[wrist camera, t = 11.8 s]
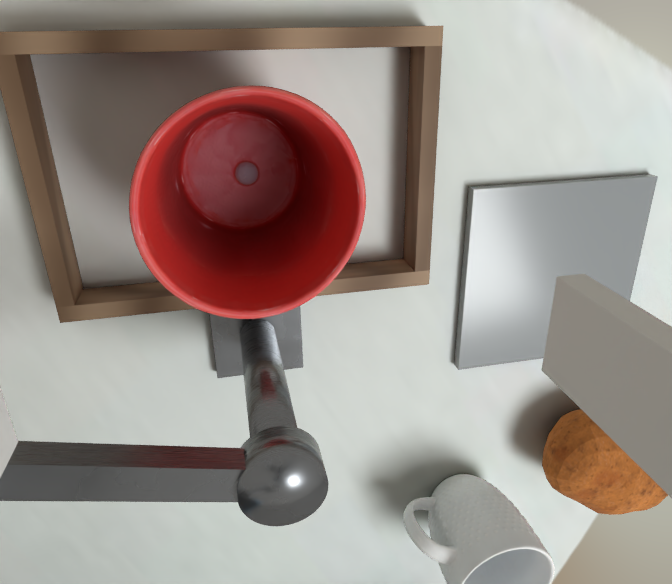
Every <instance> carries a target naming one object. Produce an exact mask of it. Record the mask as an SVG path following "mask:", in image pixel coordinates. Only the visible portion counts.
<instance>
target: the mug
mask: <svg viewBox="0 0 672 584" xmlns="http://www.w3.org/2000/svg"><path fill="white" fill-rule="evenodd" d="M416 510H429V512H428V514H429V516H428V520H429V529H430V536H431V538H430V537H428V536H427V534H426V533H425V532H424V531H423V530H422V529H421V527H420V526H419V524H418V523H417V521H416V519H415V516H414V511H416ZM403 520H404V525H405V528H406V531H407V533H408V534H409V536H410V538H411V539H412V541H413V542H414V543H415V545H416V546H417V547H418V548H419V549H420V550H421V551H422V552H423V553H425V554H426V555H427V556H429V557H430V558H431V559H433V560H435V561H437V562H438V563H439V565H440V567H441V570H442V573H443V575H444V577H445V580H446V582H447V584H551V583H552V580H553V577H554V571H555V569H554V563H553V560H552V558H551V556H550V555H549V553H548V552H547V550H546V549H545V547H544V546H543V544H542V543H541V541H540V539H539V538H538V536H537V535H536V534H535V533H534V531H533V529H532V528H531V526H530V525H529V524H528V523H527V521H526V519H525V518H524V516H522V515H521V513H520V512H519V510H518V509H517V508H516V507H515V506H514V504H513V503H512V502H511V501H510V500H508V498H507V497H506V496H505V495H504V494H502V493H501V492H500V491H499V490H498V489H497V488H496V487H494V486H493V485H492V484H490V483H488V482H487V481H486V480H483V479H481V478H479V477H476V476H474V475H469V474H458V475H454V476H451V477H449V478H447V479H445V480H444V481H442V482H441V483H440V484H439V485H438V486H437V487H436V489H435V490H434V492H433V494H432V496H431V497H423V498H418V499H415V500H413V501H411V502H410V503H409V504H408V505H407V507H406V509H405V511H404V515H403Z"/></svg>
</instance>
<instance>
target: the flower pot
mask: <svg viewBox="0 0 672 584" xmlns="http://www.w3.org/2000/svg"><path fill="white" fill-rule="evenodd" d="M365 207H366V193H365V183H364V177H363V172H362V168H361V165H360V162H359V159H358V156H357V154H356V151H355V149H354V147H353V145H352V143H351V141H350V139H349V138H348V136H347V134H346V133H345V131H344V130H343V129H342V128H341V126H340V125H339V124H338V123H337V122H336V121H335V120H334V119H333V118H332V117H331V116H330V115H329V114H328V113H327V112H326V111H324V110H323V109H322V108H321V107H319V106H318V105H316V104H315V103H313V102H311V101H310V100H308V99H306V98H304V97H302V96H299V95H297V94H294V93H291V92H288V91H285V90H282V89H277V88H273V87H266V86H236V87H230V88H225V89H220V90H217V91H214V92H211V93H208V94H205V95H203V96H200V97H198V98H196V99H194V100H192V101H190V102H189V103H187V104H185V105H184V106H182V107H181V108H179V109H178V110H177V111H175V112H174V113H173V114H171V115H170V116H169V117H168V118H167V119H166V120H165V121H164V122H163V123H162V124H161V125H160V126H159V127H158V128H157V130H156V131H155V132H154V133H153V135H152V136H151V137H150V139H149V140H148V142H147V143H146V145H145V147H144V149H143V151H142V152H141V154H140V157H139V159H138V161H137V164H136V167H135V170H134V174H133V177H132V182H131V187H130V197H129V214H130V223H131V228H132V232H133V236H134V239H135V242H136V245H137V247H138V250H139V252H140V255H141V257H142V259H143V260H144V262H145V264H146V265H147V267H148V268H149V270H150V271H151V272H152V274H153V275H154V276H155V277H156V279H157V280H158V281H159V282H160V283H161V284H162V285H163V286H164V287H165V288H166V289H167V290H168V291H170V292H171V293H172V294H173V295H175V296H176V297H178V298H179V299H180V300H182V301H183V302H185V303H187V304H188V305H190V306H192V307H194V308H196V309H199V310H201V311H204V312H207V313H210V314H213V315H217V316H221V317H227V318H235V319H256V318H264V317H269V316H274V315H278V314H281V313H284V312H287V311H289V310H292V309H294V308H296V307H298V306H300V305H302V304H304V303H305V302H307V301H309V300H310V299H312V298H313V297H315V296H316V295H318V294H319V293H320V292H321V291H323V290H324V289H325V288H326V287H327V286H328V285H329V284H330V283H331V282H332V281H333V280H334V279H335V278H336V277H337V275H338V274H339V273H340V272H341V270H342V269H343V268H344V266H345V265H346V263H347V262H348V260H349V259H350V257H351V255H352V253H353V251H354V249H355V247H356V245H357V242H358V240H359V236H360V233H361V229H362V226H363V221H364V215H365Z"/></svg>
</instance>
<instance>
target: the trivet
mask: <svg viewBox="0 0 672 584" xmlns="http://www.w3.org/2000/svg"><path fill="white" fill-rule="evenodd" d="M657 177H658V176H654V175H651V174H645V175H631V176H617V177H603V178H588V179H574V180H560V181H546V182H532V183H518V184H504V185H490V186H476V187H469V191H468V204H467V216H466V228H465V240H464V252H463V265H462V277H461V289H460V301H459V313H458V326H457V338H456V350H455V362H454V365H455V366H456V367H457V368H458V370H460V369H467V368H474V367H482V366H489V365H497V364H504V363H511V362H519V361H526V360H533V359H541V358H544V352H545V346H546V340H547V334H548V328H549V322H550V316H551V310H552V304H553V297H554V291H555V285H556V279H557V276H567V275H577V274H586V275H587V276H589V277H591V278H592V279H594V280H596V281H597V282H599V283H600V284H602V285H604V286H605V287H607V288H609V289H610V290H612V291H614V292H615V293H617V294H619V295H620V296H622V297H623V298H625V299H627V300H628V301H630V297H631V293H632V288H633V284H634V280H635V275H636V271H637V266H638V262H639V257H640V253H641V248H642V244H643V239H644V235H645V230H646V226H647V221H648V217H649V213H650V208H651V204H652V199H653V195H654V190H655V186H656V181H657Z"/></svg>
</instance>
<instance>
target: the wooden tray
mask: <svg viewBox="0 0 672 584" xmlns="http://www.w3.org/2000/svg"><path fill="white" fill-rule="evenodd" d="M442 39H443V26H396V27H321V28H246V29H172V30H97V31H22V32H0V89H1V93H2V97H3V101H4V105H5V109H6V113H7V116H8V120H9V124H10V128H11V132H12V136H13V140H14V144H15V148H16V152H17V156H18V160H19V163H20V167H21V171H22V175H23V179H24V183H25V187H26V191H27V195H28V199H29V203H30V206H31V210H32V214H33V218H34V222H35V226H36V230H37V234H38V238H39V242H40V246H41V250H42V253H43V257H44V261H45V265H46V269H47V273H48V277H49V281H50V285H51V289H52V293H53V297H54V300H55V304H56V308H57V312H58V316H59V320H60V323H62V322H72V321H82V320H91V319H101V318H110V317H120V316H129V315H139V314H149V313H158V312H168V311H177V310H187V309H196V308H194V307H192V306H190V305H188V304H187V303H185V302H183V301H182V300H180V299H179V298H178V297H176V296H175V295H173V294H172V293H171V292H170V291H168V290H167V289H166V288H165V287H164V286H163V285H162V284H161V283H160V282H152V283H141V284H131V285H120V286H110V287H99V288H89V289H83V285H82V280H81V276H80V271H79V267H78V263H77V258H76V254H75V250H74V245H73V241H72V237H71V232H70V228H69V223H68V219H67V215H66V210H65V206H64V202H63V197H62V193H61V189H60V184H59V180H58V175H57V171H56V167H55V162H54V158H53V154H52V149H51V145H50V141H49V136H48V132H47V127H46V123H45V119H44V114H43V110H42V106H41V101H40V97H39V93H38V88H37V84H36V79H35V75H34V71H33V66H32V62H31V58H30V54H69V53H118V52H167V51H216V50H265V49H313V48H362V47H410V70H409V100H408V129H407V159H406V189H405V218H404V248H403V259H395V260H385V261H374V262H364V263H353V264H346V265H345V266H344V268H343V269H342V270H341V272H340V273H339V274H338V275H337V277H336V278H335V279H334V280H333V281H332V282H331V283H330V284H329V285H328V286H327V287H326V288H325V289H324V290H323V291H321V292H320V293H319V294H318V295H316V296H321V295H331V294H340V293H350V292H359V291H369V290H378V289H388V288H398V287H407V286H417V285H426V284H429V273H430V255H431V237H432V219H433V201H434V183H435V165H436V147H437V129H438V111H439V93H440V75H441V57H442Z"/></svg>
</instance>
